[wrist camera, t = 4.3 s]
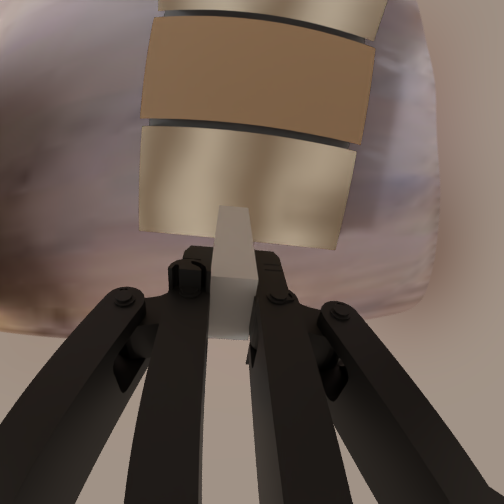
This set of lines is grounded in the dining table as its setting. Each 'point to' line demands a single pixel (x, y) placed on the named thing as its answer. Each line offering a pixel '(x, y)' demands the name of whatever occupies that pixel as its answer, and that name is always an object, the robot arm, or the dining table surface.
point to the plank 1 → (300, 11)
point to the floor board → (257, 76)
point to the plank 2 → (243, 184)
